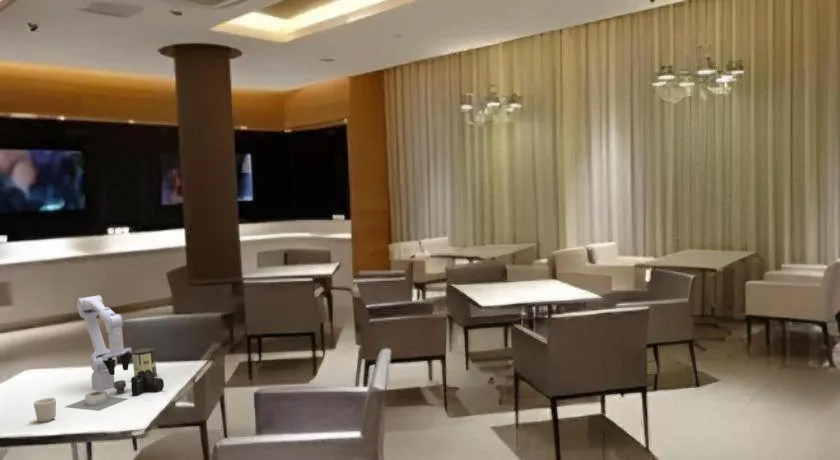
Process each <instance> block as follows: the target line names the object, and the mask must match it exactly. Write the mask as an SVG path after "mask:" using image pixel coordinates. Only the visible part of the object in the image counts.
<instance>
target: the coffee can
mask: <svg viewBox="0 0 840 460" xmlns="http://www.w3.org/2000/svg"><path fill="white" fill-rule="evenodd" d="M155 350H156V349H155V347H142V348H141V347H140V348H136V349H133V350H131V353H132V357H131V358H132V366H133V375H134V376H133V377H135V375H136V376H137V375H138V372H139V371H144V373H145V371H146V370H147V369H150V370H151V372H152V373H153V378H158V375H157V373H158V372H157V363H156V351H155Z"/></svg>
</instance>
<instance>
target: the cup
mask: <svg viewBox="0 0 840 460" xmlns="http://www.w3.org/2000/svg"><path fill="white" fill-rule="evenodd" d="M56 403H57V399H56V398H55V397H45V398H41V399H37V400H34V402H33V408H34V411H35V416H36V419H37V421H38V422H41V423H46V422H50V421H52V420H54V419H55V418H56V415H57V414H56V413H57V404H56Z"/></svg>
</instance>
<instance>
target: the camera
mask: <svg viewBox="0 0 840 460" xmlns="http://www.w3.org/2000/svg"><path fill="white" fill-rule="evenodd" d="M130 383H131V384H130V385H131V396H132V397H138V396H141V395H142V394H145V393H157V392H158V393H159V392H163V390H164V386H165V385H164V384H165V382H164V379H163V378H161V377H157V378H153V373H152V372H151V370H150V369H147V370H146V371H145V373H144V371H139V372H138V375H137V376H136V375H135V377H134V376H132V377H131V378H130Z"/></svg>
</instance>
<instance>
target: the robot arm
mask: <svg viewBox="0 0 840 460" xmlns="http://www.w3.org/2000/svg"><path fill="white" fill-rule="evenodd" d="M76 307H77V311H78V314H79V316H80V318H81V319H83V320H84V323H85V326H86V327H87V329H86V330H87V332H88V335H89V337H90V340H91V344H92V347H93V350H94V352H93V353H92V354H91V356H90V358H89V360H90V366H91V369H92V371H93V372H92V374H91V387H92V388H91V389H93V390H97V391H107V390H111V389H114V382H115V371H116V370H115V368H117V365H118V359H117V357H120V360H121V361H120V362H121V364H122V365H121V366H122V370H123V371H128V370H129V365H130V360H131V358H133V357H132V347H126V348H125V347H124V337H123V336H124V335H123V327H124V323H125V322H124V321H125V320H124V317H123V315H122V314H121V313H115V311H113V310H112V309H111V308H110V307H106V306H105V305H104V300H103V297H102V296H101V295H100V294H97V295H92V296H87V297H79V298H78V299H77V302H76ZM97 317H99V319H101V320H102V321H103V322H104V326H105V329H106V332H107V335H108V345H109V348H107V347H106V344H105V341H104V337H103V334H102V332H101V329H100V328H101V327H100V325H99V322H98V319H97Z"/></svg>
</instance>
